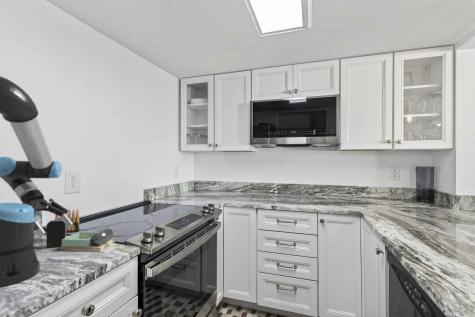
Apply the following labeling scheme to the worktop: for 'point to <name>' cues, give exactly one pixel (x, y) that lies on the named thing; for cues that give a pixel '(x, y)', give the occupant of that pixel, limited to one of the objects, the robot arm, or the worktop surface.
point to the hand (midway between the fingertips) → (57, 230)
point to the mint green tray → (88, 241)
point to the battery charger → (55, 233)
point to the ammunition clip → (75, 223)
